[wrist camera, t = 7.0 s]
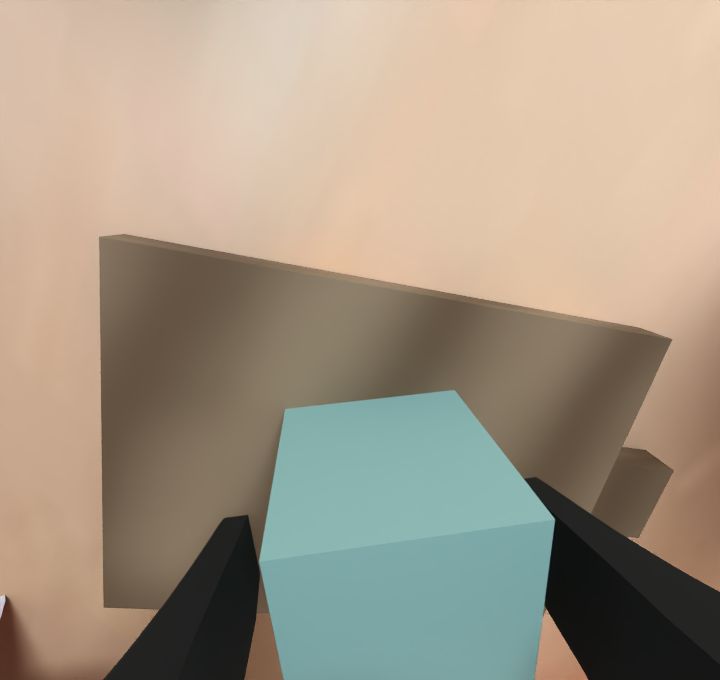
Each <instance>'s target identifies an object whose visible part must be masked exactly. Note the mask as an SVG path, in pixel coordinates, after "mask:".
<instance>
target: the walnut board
mask: <svg viewBox="0 0 720 680" xmlns="http://www.w3.org/2000/svg"><path fill="white" fill-rule="evenodd" d="M99 250H100V335H101V421H102V506H103V591H104V607H105V608H135V609H161V607H162V606H163V605H164V603H165V602H166V600H167V599H168V598H169V596H170V595H171V594H172V592H173V591H174V589H175V588H176V587H177V585H178V584H179V582H180V581H181V580H182V578H183V577H184V575H185V574H186V573H187V571H188V570H189V568H190V567H191V565H192V564H193V562H194V561H195V560H196V558H197V557H198V555H199V554H200V552H201V551H202V549H203V548H204V546H205V545H206V543H207V542H208V540H209V539H210V537H211V536H212V534H213V533H214V531H215V530H216V528H217V527H218V525H219V524H220V522H221V521H222V520H223V519H224V518H227V517H235V516H242V515H248V517H249V522H250V527H251V531H252V536H253V541H254V546H255V551H256V556H257V561H258V565H259V570H260V582H259V593H258V603H257V613H270V612H269V607H268V602H267V597H266V593H265V588H264V583H263V578H262V573H261V568H260V564H259V559H260V553H261V548H262V542H263V536H264V530H265V524H266V518H267V512H268V507H269V501H270V495H271V489H272V483H273V477H274V471H275V465H276V460H277V454H278V448H279V442H280V436H281V430H282V424H283V419H284V413H285V409H290V408H299V407H308V406H317V405H326V404H335V403H343V402H352V401H361V400H370V399H379V398H388V397H397V396H406V395H415V394H424V393H433V392H442V391H451V390H455V391H456V392H457V394H458V395H459V396H460V398H461V399H462V400H463V401H464V403H465V404H466V405H467V407H468V408H469V409H470V410H471V412H472V413H473V414H474V416H475V417H476V418H477V419H478V421H479V422H480V423H481V425H482V426H483V427H484V428H485V430H486V431H487V432H488V434H489V435H490V436H491V438H492V439H493V440H494V441H495V443H496V444H497V445H498V447H499V448H500V449H501V450H502V452H503V453H504V454H505V456H506V457H507V458H508V459H509V461H510V462H511V463H512V465H513V466H514V467H515V468H516V470H517V471H518V472H519V474H520V475H521V476H522V477H523V479H524V478H532V477H537V478H539V479H540V480H542V481H543V482H545V483H546V484H548V485H549V486H551V487H552V488H554V489H555V490H557V491H558V492H560V493H561V494H563V495H564V496H565V497H567V498H568V499H570V500H571V501H573V502H574V503H576V504H577V505H579V506H580V507H581V508H583V509H584V510H586V511H587V512H589V513H590V514H592V515H593V516H595V517H596V518H598V519H599V520H601V521H602V522H604V523H605V524H607V525H608V526H610V527H611V528H613V529H614V530H616V531H617V532H619V533H620V534H622V535H624V536H625V537H635V538H639V536H640V534H641V532H642V530H643V528H644V526H645V524H646V522H647V521H648V519H649V517H650V515H651V513H652V511H653V509H654V507H655V505H656V503H657V502H658V500H659V498H660V496H661V494H662V492H663V490H664V488H665V486H666V484H667V483H668V481H669V479H670V477H671V475H672V473H673V471H674V470H672V469H671V468H670V467H668V466H667V465H665V464H664V463H663V462H661V461H660V460H658V459H657V458H656V457H654V456H653V455H651V454H650V453H649V452H647V451H646V450H640V449H632V448H624V447H622V446H623V444H624V442H625V439H626V437H627V435H628V433H629V431H630V429H631V427H632V424H633V422H634V420H635V418H636V416H637V414H638V412H639V409H640V407H641V405H642V403H643V401H644V399H645V397H646V394H647V392H648V390H649V388H650V386H651V384H652V382H653V379H654V377H655V375H656V373H657V371H658V369H659V367H660V364H661V362H662V360H663V358H664V356H665V354H666V352H667V349H668V347H669V345H670V343H671V341H672V339H670V338H667V337H664V336H661V335H658V334H655V333H653V332H650V331H647V330H644V329H641V328H637V327H631V326H626V325H620V324H615V323H609V322H604V321H598V320H593V319H587V318H582V317H576V316H571V315H565V314H560V313H554V312H549V311H543V310H538V309H532V308H527V307H521V306H516V305H510V304H505V303H499V302H494V301H488V300H483V299H477V298H472V297H466V296H461V295H455V294H450V293H444V292H439V291H433V290H428V289H422V288H417V287H411V286H406V285H400V284H395V283H389V282H384V281H378V280H373V279H367V278H362V277H356V276H351V275H345V274H340V273H334V272H329V271H323V270H318V269H312V268H307V267H301V266H296V265H290V264H285V263H279V262H274V261H268V260H263V259H257V258H252V257H246V256H241V255H235V254H230V253H224V252H219V251H213V250H208V249H202V248H197V247H191V246H186V245H180V244H175V243H169V242H164V241H158V240H153V239H147V238H142V237H136V236H131V235H125V234H122V235H112V236H103V237H99ZM545 611H546V607H545V605H544V610H543V615H544V613H545Z"/></svg>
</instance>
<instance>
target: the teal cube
mask: <svg viewBox="0 0 720 680" xmlns="http://www.w3.org/2000/svg"><path fill="white" fill-rule="evenodd" d="M554 524H555V519H554V517H553V516H552V515H551V513H550V512H549V511H548V510H547V508H546V507H545V506H544V504H543V503H542V502H541V501H540V499H539V498H538V497H537V495H536V494H535V493H534V492H533V490H532V489H531V488H530V486H529V485H528V484H527V483H526V481H525V480H524V479H523V477H522V476H521V475H520V474H519V472H518V471H517V470H516V468H515V467H514V466H513V465H512V463H511V462H510V461H509V459H508V458H507V457H506V456H505V454H504V453H503V452H502V450H501V449H500V448H499V447H498V445H497V444H496V443H495V441H494V440H493V439H492V438H491V436H490V435H489V434H488V432H487V431H486V430H485V428H484V427H483V426H482V425H481V423H480V422H479V421H478V419H477V418H476V417H475V416H474V414H473V413H472V412H471V410H470V409H469V408H468V407H467V405H466V404H465V403H464V401H463V400H462V399H461V398H460V396H459V395H458V394H457V392H456V391H455V390H451V391H442V392H433V393H424V394H415V395H406V396H397V397H388V398H379V399H370V400H361V401H352V402H343V403H335V404H326V405H317V406H308V407H299V408H290V409H285V413H284V419H283V424H282V430H281V436H280V442H279V448H278V454H277V460H276V465H275V471H274V477H273V483H272V489H271V495H270V501H269V507H268V512H267V518H266V524H265V530H264V536H263V542H262V548H261V553H260V559H259V564H260V568H261V573H262V578H263V583H264V588H265V593H266V597H267V602H268V607H269V612H270V617H271V621H272V626H273V631H274V636H275V641H276V645H277V650H278V655H279V660H280V665H281V670H282V674H283V679H284V680H535V672H536V665H537V657H538V649H539V641H540V633H541V626H542V618H543V610H544V602H545V594H546V587H547V579H548V571H549V563H550V555H551V548H552V540H553V532H554Z"/></svg>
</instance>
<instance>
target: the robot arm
mask: <svg viewBox="0 0 720 680" xmlns="http://www.w3.org/2000/svg"><path fill="white" fill-rule="evenodd" d="M524 480H525V481H526V483H527V484H528V485H529V486H530V488H531V489H532V490H533V492H534V493H535V494H536V495H537V497H538V498H539V499H540V501H541V502H542V503H543V504H544V506H545V507H546V508H547V510H548V511H549V512H550V513H551V515H552V516H553V517H554V519H555V524H554V532H553V540H552V548H551V555H550V563H549V571H548V579H547V587H546V594H545V602H544V605H545V607H546V609H547V610H548V612H549V614H550V616H551V617H552V619H553V621H554V622H555V624H556V626H557V627H558V629H559V631H560V632H561V634H562V636H563V637H564V639H565V641H566V642H567V644H568V646H569V647H570V649H571V651H572V652H573V654H574V656H575V657H576V659H577V661H578V662H579V664H580V666H581V667H582V669H583V671H584V672H585V674H586V676H587V678H588V680H720V592H719V591H717V590H715V589H713V588H711V587H710V586H708V585H706V584H704V583H702V582H700V581H699V580H697V579H695V578H693V577H691V576H690V575H688V574H686V573H684V572H683V571H681V570H679V569H677V568H676V567H674V566H672V565H671V564H669V563H667V562H666V561H664V560H662V559H661V558H659V557H657V556H656V555H654V554H652V553H651V552H649V551H647V550H646V549H644V548H642V547H641V546H639V545H638V544H636V543H635V542H633V541H631V540H630V539H628V538H627V537H625V536H624V535H622V534H620V533H619V532H617V531H616V530H614V529H613V528H611V527H610V526H608V525H607V524H605V523H604V522H602V521H601V520H599V519H598V518H596V517H595V516H593V515H592V514H590V513H589V512H587V511H586V510H584V509H583V508H581V507H580V506H579V505H577V504H576V503H574V502H573V501H571V500H570V499H568V498H567V497H565V496H564V495H563V494H561V493H560V492H558V491H557V490H555V489H554V488H552V487H551V486H549V485H548V484H546V483H545V482H543V481H542V480H540V479H539V478H537V477H532V478H524ZM259 582H260V570H259V565H258V561H257V556H256V551H255V546H254V541H253V536H252V531H251V527H250V522H249V517H248V515H242V516H235V517H227V518H224V519H223V520H222V521H221V522H220V524H219V525H218V527H217V528H216V530H215V531H214V533H213V534H212V536H211V537H210V539H209V540H208V542H207V543H206V545H205V546H204V548H203V549H202V551H201V552H200V554H199V555H198V557H197V558H196V560H195V561H194V562H193V564H192V565H191V567H190V568H189V570H188V571H187V573H186V574H185V575H184V577H183V578H182V580H181V581H180V582H179V584H178V585H177V587H176V588H175V589H174V591H173V592H172V594H171V595H170V596H169V598H168V599H167V600H166V602H165V603H164V605H163V606H162V607H161V609H160V610H159V611H158V612H157V614H156V615H155V616H154V618H153V619H152V620H151V621H150V623H149V624H148V625H147V627H146V628H145V629H144V630H143V632H142V633H141V634H140V636H139V637H138V638H137V639H136V641H135V642H134V643H133V645H132V646H131V647H130V648H129V650H128V651H127V652H126V653H125V654H124V656H123V657H122V658H121V659H120V661H119V662H118V663H117V664H116V665H115V667H114V668H113V669H112V670H111V671H110V672H109V674H108V675H107V676H106V677H105V678H104V679H103V680H244V678H245V673H246V667H247V662H248V657H249V652H250V647H251V642H252V637H253V632H254V626H255V621H256V613H257V603H258V593H259Z"/></svg>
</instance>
